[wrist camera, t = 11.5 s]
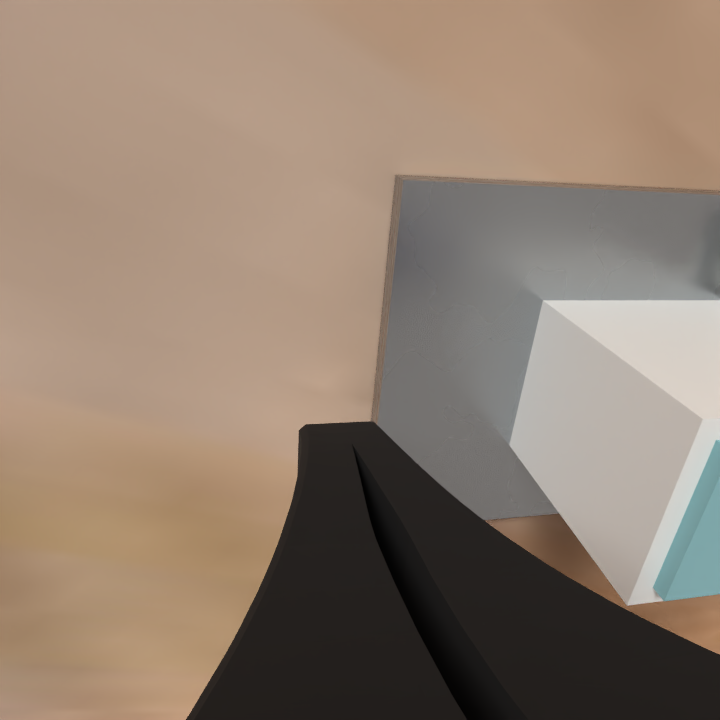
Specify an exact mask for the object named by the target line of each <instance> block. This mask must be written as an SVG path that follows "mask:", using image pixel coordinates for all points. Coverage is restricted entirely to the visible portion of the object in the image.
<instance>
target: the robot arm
mask: <svg viewBox="0 0 720 720" xmlns="http://www.w3.org/2000/svg"><path fill="white" fill-rule="evenodd" d="M186 720H720V655H719V654H717V653H714V652H712V651H710V650H708V649H706V648H703V647H701V646H699V645H697V644H695V643H693V642H691V641H689V640H686V639H684V638H682V637H680V636H678V635H676V634H674V633H672V632H670V631H668V630H666V629H664V628H662V627H659V626H657V625H655V624H653V623H651V622H649V621H647V620H645V619H643V618H641V617H639V616H637V615H635V614H634V613H632V612H630V611H628V610H626V609H624V608H622V607H620V606H618V605H616V604H614V603H613V602H611V601H609V600H607V599H605V598H604V597H602V596H600V595H598V594H597V593H595V592H593V591H591V590H590V589H588V588H586V587H584V586H583V585H581V584H579V583H577V582H576V581H574V580H572V579H570V578H569V577H567V576H565V575H564V574H562V573H560V572H559V571H557V570H556V569H554V568H552V567H551V566H549V565H547V564H546V563H544V562H543V561H541V560H540V559H538V558H537V557H535V556H534V555H532V554H531V553H529V552H528V551H526V550H525V549H523V548H522V547H520V546H519V545H517V544H516V543H514V542H513V541H511V540H510V539H509V538H507V537H506V536H504V535H503V534H502V533H500V532H499V531H497V530H496V529H495V528H493V527H492V526H491V525H489V524H488V523H487V522H485V521H484V520H483V519H482V518H480V517H479V516H478V515H477V514H475V513H474V512H473V511H471V510H470V509H469V508H468V507H466V506H465V505H464V504H463V503H461V502H460V501H459V500H458V499H457V498H455V497H454V496H453V495H452V494H451V493H449V492H448V491H447V490H446V489H445V488H444V487H442V486H441V485H440V484H439V483H438V482H437V481H436V480H435V479H433V478H432V477H431V476H430V475H429V474H428V473H427V472H426V471H425V470H424V469H422V468H421V467H420V466H419V465H418V464H417V463H416V462H415V461H414V460H413V459H412V458H411V457H410V456H409V455H408V454H407V453H406V452H404V451H403V450H402V449H401V448H400V447H399V446H398V445H397V444H396V443H395V442H394V441H393V440H392V439H391V438H390V437H389V436H388V435H387V434H386V433H385V432H384V431H383V430H382V429H381V428H380V427H379V426H378V425H377V424H376V423H375V422H374V421H372V422H350V423H328V424H306V425H305V426H303V427H302V428H301V429H300V430H299V446H298V477H297V482H296V486H295V490H294V495H293V499H292V502H291V506H290V509H289V512H288V515H287V518H286V521H285V524H284V527H283V530H282V533H281V537H280V539H279V542H278V545H277V547H276V550H275V553H274V555H273V558H272V560H271V563H270V565H269V567H268V570H267V572H266V574H265V577H264V579H263V581H262V583H261V586H260V588H259V590H258V592H257V594H256V596H255V598H254V600H253V602H252V604H251V606H250V608H249V610H248V612H247V614H246V616H245V618H244V621H243V623H242V625H241V627H240V628H239V630H238V632H237V634H236V636H235V638H234V640H233V642H232V643H231V645H230V647H229V649H228V651H227V652H226V654H225V656H224V658H223V659H222V661H221V663H220V664H219V666H218V668H217V669H216V671H215V673H214V674H213V676H212V678H211V679H210V681H209V683H208V684H207V686H206V688H205V689H204V691H203V693H202V694H201V696H200V698H199V699H198V701H197V703H196V704H195V706H194V708H193V709H192V711H191V713H190V714H189V716H188V717H187V719H186Z"/></svg>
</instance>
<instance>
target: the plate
mask: <svg viewBox="0 0 720 720" xmlns="http://www.w3.org/2000/svg"><path fill="white" fill-rule="evenodd" d="M543 300H720V191H710V190H690V189H669V188H649V187H629V186H609V185H589V184H568V183H548V182H528V181H508V180H488V179H468V178H447V177H427V176H407V175H396V176H395V186H394V196H393V206H392V217H391V227H390V237H389V247H388V257H387V267H386V277H385V287H384V297H383V307H382V317H381V327H380V337H379V347H378V358H377V368H376V378H375V388H374V398H373V408H372V418H371V422H372V421H374V422H375V423H376V424H377V425H378V426H379V427H380V428H381V429H382V430H383V431H384V432H385V433H386V434H387V435H388V436H389V437H390V438H391V439H392V440H393V441H394V442H395V443H396V444H397V445H398V446H399V447H400V448H401V449H402V450H403V451H404V452H406V453H407V454H408V455H409V456H410V457H411V458H412V459H413V460H414V461H415V462H416V463H417V464H418V465H419V466H420V467H421V468H422V469H424V470H425V471H426V472H427V473H428V474H429V475H430V476H431V477H432V478H433V479H435V480H436V481H437V482H438V483H439V484H440V485H441V486H442V487H444V488H445V489H446V490H447V491H448V492H449V493H451V494H452V495H453V496H454V497H455V498H457V499H458V500H459V501H460V502H461V503H463V504H464V505H465V506H466V507H468V508H469V509H470V510H471V511H473V512H474V513H475V514H477V515H478V516H479V517H480V518H482V519H483V520H491V519H503V518H514V517H526V516H537V515H549V514H559V512H558V511H557V510H556V508H555V507H554V506H553V504H552V503H551V501H550V500H549V499H548V497H547V496H546V495H545V493H544V492H543V491H542V489H541V488H540V487H539V485H538V484H537V482H536V481H535V480H534V478H533V477H532V476H531V474H530V473H529V472H528V470H527V469H526V467H525V466H524V465H523V463H522V462H521V461H520V459H519V458H518V457H517V455H516V454H515V452H514V451H513V450H512V448H511V447H510V446H509V444H510V440H511V436H512V431H513V427H514V423H515V418H516V414H517V410H518V405H519V401H520V397H521V392H522V388H523V384H524V380H525V375H526V371H527V367H528V362H529V358H530V354H531V349H532V345H533V341H534V336H535V332H536V328H537V323H538V319H539V315H540V311H541V306H542V302H543Z"/></svg>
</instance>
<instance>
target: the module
mask: <svg viewBox="0 0 720 720" xmlns="http://www.w3.org/2000/svg"><path fill="white" fill-rule="evenodd" d="M509 446H510V447H511V448H512V450H513V451H514V452H515V454H516V455H517V457H518V458H519V459H520V461H521V462H522V463H523V465H524V466H525V467H526V469H527V470H528V472H529V473H530V474H531V476H532V477H533V478H534V480H535V481H536V482H537V484H538V485H539V487H540V488H541V489H542V491H543V492H544V493H545V495H546V496H547V497H548V499H549V500H550V501H551V503H552V504H553V506H554V507H555V508H556V510H557V511H558V512H559V514H560V515H561V516H562V518H563V519H564V521H565V522H566V523H567V525H568V526H569V527H570V529H571V530H572V531H573V533H574V534H575V536H576V537H577V538H578V540H579V541H580V542H581V544H582V545H583V546H584V548H585V549H586V551H587V552H588V553H589V555H590V556H591V557H592V559H593V560H594V561H595V563H596V564H597V566H598V567H599V568H600V570H601V571H602V572H603V574H604V575H605V576H606V578H607V579H608V580H609V582H610V583H611V585H612V586H613V587H614V589H615V590H616V591H617V593H618V594H619V595H620V597H621V598H622V600H623V601H624V602H625V604H626V605H627V606H628V605H635V604H643V603H651V602H659V601H670V600H678V599H686V598H693V597H701V596H709V595H717V594H720V300H543V302H542V306H541V311H540V315H539V319H538V323H537V328H536V332H535V336H534V341H533V345H532V349H531V354H530V358H529V362H528V367H527V371H526V375H525V380H524V384H523V388H522V392H521V397H520V401H519V405H518V410H517V414H516V418H515V423H514V427H513V431H512V436H511V440H510V444H509Z"/></svg>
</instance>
